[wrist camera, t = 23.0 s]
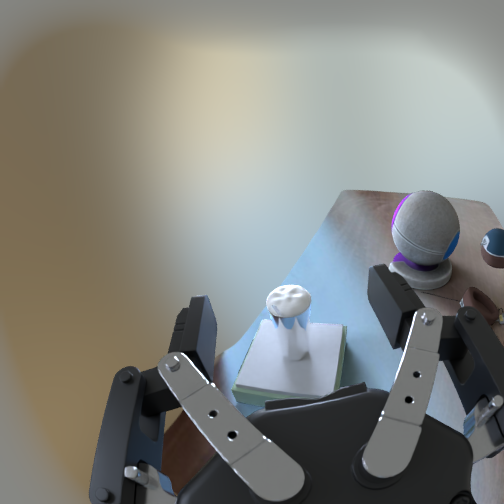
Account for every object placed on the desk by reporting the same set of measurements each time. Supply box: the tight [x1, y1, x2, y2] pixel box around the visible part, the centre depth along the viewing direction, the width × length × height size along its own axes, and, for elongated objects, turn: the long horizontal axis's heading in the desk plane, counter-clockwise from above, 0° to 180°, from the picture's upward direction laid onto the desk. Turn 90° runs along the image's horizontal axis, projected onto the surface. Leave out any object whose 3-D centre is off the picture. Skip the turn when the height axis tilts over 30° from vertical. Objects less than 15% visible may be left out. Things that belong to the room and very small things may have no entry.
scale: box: [231, 319, 347, 407], centre depth 32 cm, size 12×12×4 cm
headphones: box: [423, 228, 504, 326], centre depth 27 cm, size 6×15×22 cm
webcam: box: [389, 191, 460, 290], centre depth 42 cm, size 13×13×15 cm
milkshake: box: [266, 285, 311, 361], centre depth 29 cm, size 4×5×10 cm
